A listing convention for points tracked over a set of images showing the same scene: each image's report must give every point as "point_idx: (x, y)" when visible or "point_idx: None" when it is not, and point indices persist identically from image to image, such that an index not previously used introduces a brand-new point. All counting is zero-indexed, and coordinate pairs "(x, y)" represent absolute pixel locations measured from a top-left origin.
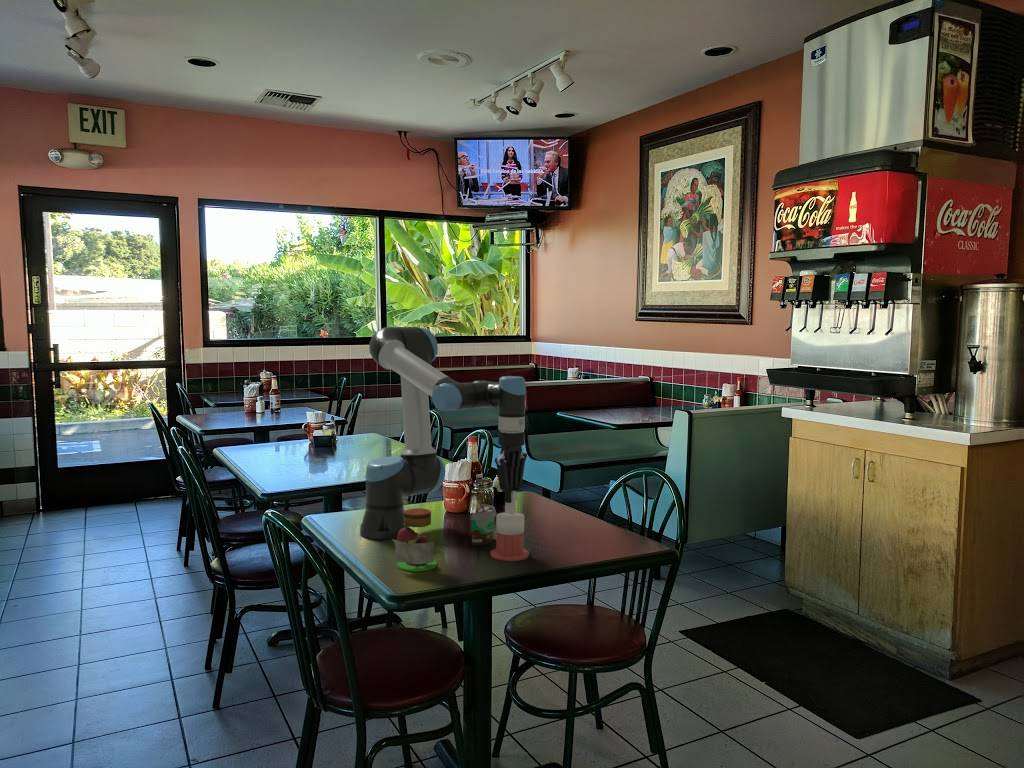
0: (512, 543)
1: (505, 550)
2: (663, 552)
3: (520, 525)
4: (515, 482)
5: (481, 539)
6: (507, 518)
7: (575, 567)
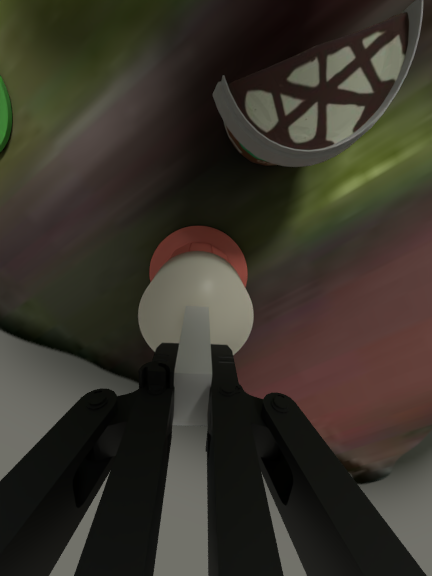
0: None
1: None
2: (362, 474)
3: None
4: (207, 485)
5: (239, 150)
6: (152, 332)
7: None
